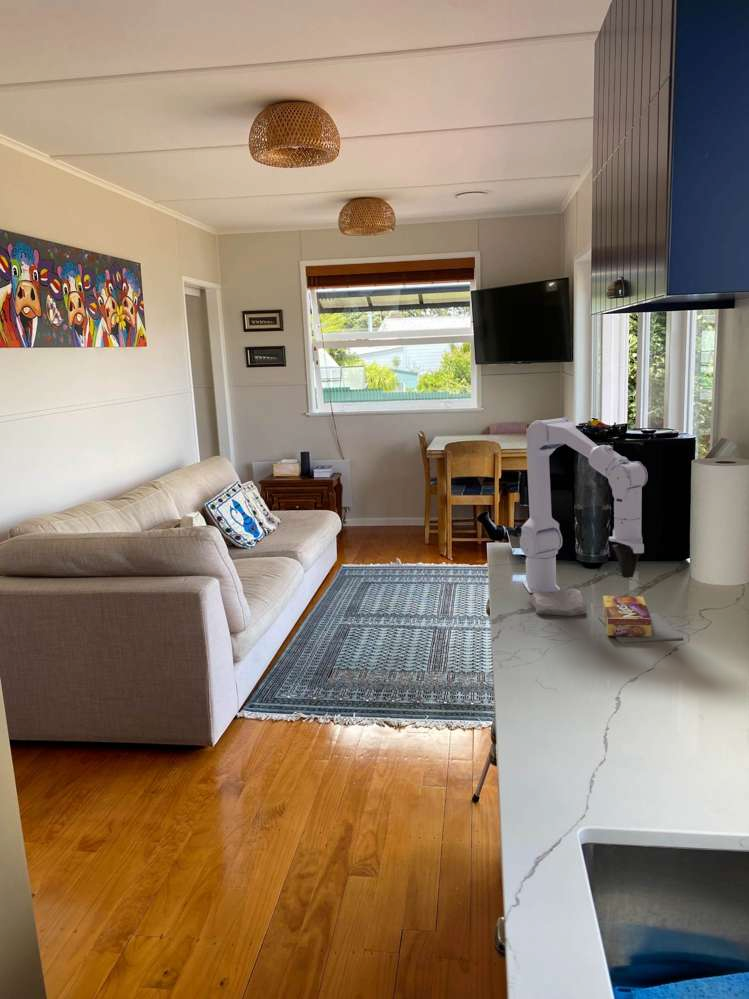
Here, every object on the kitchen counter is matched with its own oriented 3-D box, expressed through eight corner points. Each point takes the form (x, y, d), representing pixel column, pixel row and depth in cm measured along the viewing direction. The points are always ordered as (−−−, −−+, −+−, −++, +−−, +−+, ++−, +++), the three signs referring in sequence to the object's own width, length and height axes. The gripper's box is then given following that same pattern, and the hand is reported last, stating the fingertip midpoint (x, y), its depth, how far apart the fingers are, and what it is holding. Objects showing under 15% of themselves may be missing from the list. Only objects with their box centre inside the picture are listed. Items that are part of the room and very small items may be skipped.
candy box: (602, 613, 171) (606, 636, 156) (602, 595, 170) (606, 616, 155) (643, 614, 168) (651, 637, 154) (643, 596, 168) (651, 617, 153)
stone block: (588, 623, 171) (579, 601, 180) (588, 604, 169) (579, 583, 179) (536, 626, 172) (530, 604, 181) (536, 608, 170) (529, 587, 180)
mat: (598, 618, 168) (598, 616, 168) (656, 615, 168) (656, 613, 168) (620, 642, 153) (620, 641, 153) (683, 639, 153) (683, 637, 153)
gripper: (599, 511, 171) (599, 568, 174) (620, 525, 157) (620, 587, 159) (630, 510, 171) (629, 567, 173) (653, 523, 157) (653, 585, 159)
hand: (627, 576), depth 166 cm, fingers closed
